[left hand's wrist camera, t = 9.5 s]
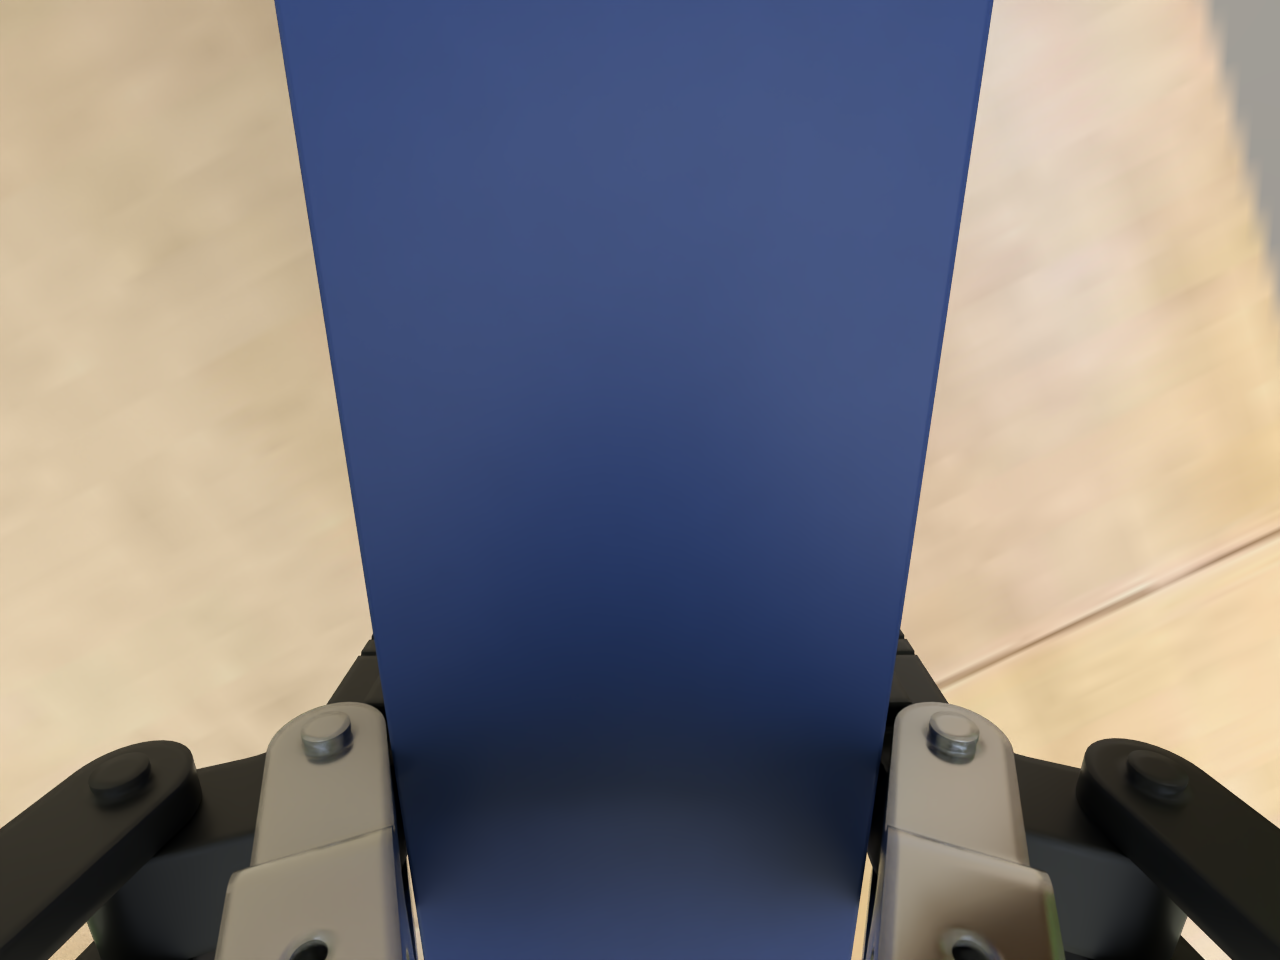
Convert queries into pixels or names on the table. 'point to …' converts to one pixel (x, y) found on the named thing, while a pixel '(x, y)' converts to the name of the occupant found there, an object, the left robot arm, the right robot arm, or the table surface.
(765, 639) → the bar
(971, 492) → the table surface
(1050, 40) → the table surface
